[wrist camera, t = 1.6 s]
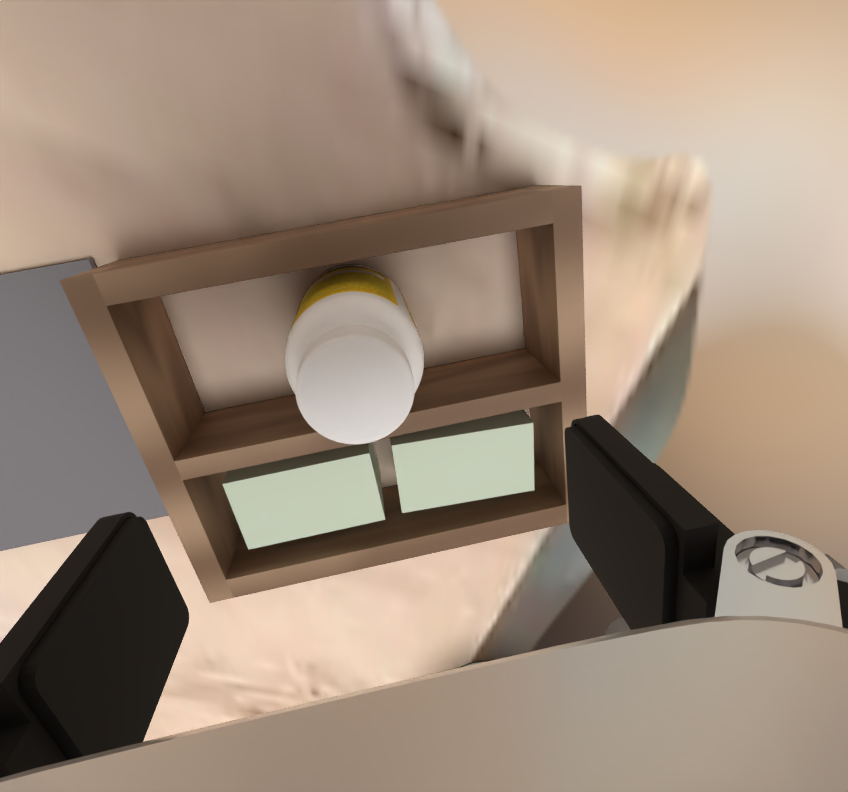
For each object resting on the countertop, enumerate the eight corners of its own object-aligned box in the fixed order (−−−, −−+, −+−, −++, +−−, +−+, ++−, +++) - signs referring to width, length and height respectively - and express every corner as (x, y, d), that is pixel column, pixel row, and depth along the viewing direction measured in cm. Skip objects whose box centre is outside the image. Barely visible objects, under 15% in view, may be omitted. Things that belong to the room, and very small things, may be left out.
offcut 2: (385, 406, 28) (391, 445, 23) (506, 387, 28) (533, 422, 24) (394, 466, 29) (401, 513, 25) (509, 447, 30) (534, 490, 26)
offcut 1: (241, 438, 27) (222, 484, 23) (366, 412, 28) (369, 453, 23) (262, 497, 29) (248, 549, 25) (380, 472, 29) (385, 519, 25)
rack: (117, 260, 23) (59, 280, 18) (537, 185, 24) (581, 185, 19) (231, 537, 29) (209, 602, 25) (553, 468, 31) (588, 518, 26)
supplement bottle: (276, 309, 24) (235, 382, 16) (361, 240, 24) (368, 275, 15) (347, 386, 27) (347, 489, 18) (427, 325, 26) (468, 400, 17)
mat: (-233, 316, 22) (-243, 318, 21) (92, 257, 22) (88, 259, 22) (-54, 558, 27) (-60, 563, 27) (199, 505, 28) (197, 509, 28)
